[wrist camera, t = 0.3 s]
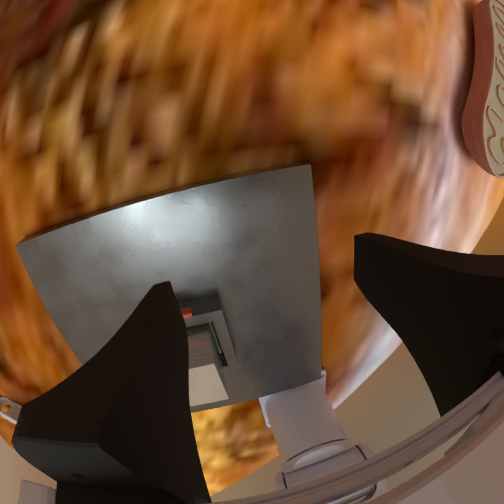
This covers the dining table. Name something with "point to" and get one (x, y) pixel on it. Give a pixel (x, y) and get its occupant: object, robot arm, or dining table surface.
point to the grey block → (205, 366)
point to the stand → (198, 273)
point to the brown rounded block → (487, 90)
